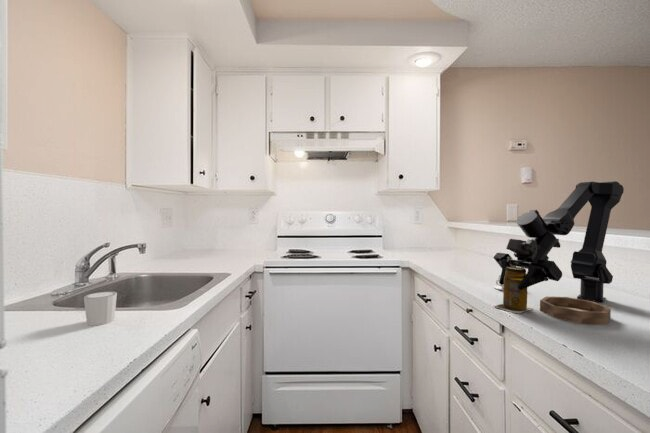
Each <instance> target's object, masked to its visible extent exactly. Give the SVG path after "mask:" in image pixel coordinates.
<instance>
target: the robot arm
mask: <svg viewBox="0 0 650 433" xmlns="http://www.w3.org/2000/svg"><path fill="white" fill-rule="evenodd" d="M623 194H624V185H622V184H620V183H619V182H618V181H604V182H603V181H602V182H598V181H584V182H578V183H577V184H576V185H575V189H574V190H572V192H571V193H570V194H569V195H568V197H567V198H566V199H565V200H564V201H563V202H562V203H561V204H560V205H559V206H558V208H557V209H554V210H552V211H550V212H548V213H547V214H546V215H544V216H543V217H542V216H541V214H540V212H539V210H538V209H530V210H529V211H528V212H525V213H523V214H521V215H519V216H518V217H517V218H516V221H515V223H516V224H517V226H518V227H519V228H520V229H521V230H522V232H523V233H524V235H525V236H526V237H527V238H530V239H527V240H522V239H516V238H509V239H508V242H507V245H506V250H507V251H508V250H509V251H511V252H513V254H512V255H513V256H514V257H515V258H513V257H512V256H511V255H510V253H505V252H496V253H495V255H494V256H493V259H494V261H495V262H496V263H497V264H498V265H499V267H500V268H501V274H500V275H501V277H500V281H499V282H498V284H499V283H500V284H501V285H503V284H504V276H505V272H506V267H520V268H524V269H526V270H527V271H526V275H525V277H524V278H523V280H522V281H521V282H520V284H519V286H518V289H519V290H522V289H525V288H527V289H528V288H529V287H532V286H534V285H536V284H539V283H542V282H548V281H549V280H551V281H555V282H559V281H560V280H561V279H562V277H563V272H562V270H561V269H560V268H559V267H558V265H557V264H556V262H555V261H553V260H549V259H550V257H549V256H548V255H549V253H550V252H551V250H552V249H553V248H559V249H560V248H561V243H560V241H559V240H560V239H559V238H557V237H556V235H557V236H567V235H569V233H570V232H571V231H572V229H573V227H574V226H575V220H574V219H575V217H576V216H577V215H578V214H579V212H580V211H581V210H582V209H583V208H584V207H585V205H586V204H587V203H589V205H590V206H591V208H590V212H589V217H588V220H587V226H586V231H585V234H584V239H583V244H582V247H581V248H580V250H578V251H576V250H575V251H573V253H572V256H571V257H572V259H571V260H570V268H571V272H572V273H571V274H572V278H573V279H578V280H580V290H579V292H580V293H579V295H577V296H576V299H581V300H587V301H592V302H596V303H604V302H605V301H606V300H607V297H604V286H605V285H606V284H607V285H610V284H611V283H612V282H613V278H614V276H613V275H612V273H611V271H609V269H608V268H607V258H606V256H605V255H604V253H603V249H604V244H605V239H606V236H607V230H608V225H609V221H610V216H611V211H612V209H614V208H615V207H616V205H618V204H619V203H620V201H621V199H622V195H623ZM604 284H605V285H604Z"/></svg>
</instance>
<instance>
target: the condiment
mask: <svg viewBox="0 0 650 433" xmlns="http://www.w3.org/2000/svg"><path fill="white" fill-rule="evenodd" d="M526 274H527V269H525V268H521V267H517V266H516V267H506V272H505V276H504V291H503V290H502V292H503V295H502V296H503V298H502V301H503V302H502V303H500V304H497V305H493V308H497V309H501V310H503V311H507V312H509V313H510V312H511V313H515V314H522V313H524V312H525V313H526V312H528V311H530V310H533V309H534V308H533V307H527V306H528V287H527V288H525V289H522V290H519V289H518V286H519V284H520V282H521V281H522V280H523V278H524V277H525V275H526Z"/></svg>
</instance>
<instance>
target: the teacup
mask: <svg viewBox="0 0 650 433" xmlns="http://www.w3.org/2000/svg"><path fill="white" fill-rule="evenodd" d="M500 277H501V274H500V275H498V276H497V279H495V284H496V285H494V286H493V288H494V289H495V290H496V289H497V290H498V291H499V290H500V291H502V292H503V291H504V284H503V285H501V284H500V283H499V281H500Z"/></svg>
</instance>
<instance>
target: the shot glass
mask: <svg viewBox="0 0 650 433" xmlns="http://www.w3.org/2000/svg"><path fill="white" fill-rule="evenodd" d="M117 297H118V292H117V291H100V292H94V293H89V294H87V295H85V296H83V301H84V311H85V318H86V324H87V326H91V327H93V326H94V327H95V326H103V325H107V324H110V323H112V322H114V321H115V318H116V309H117V308H116V307H117Z"/></svg>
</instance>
